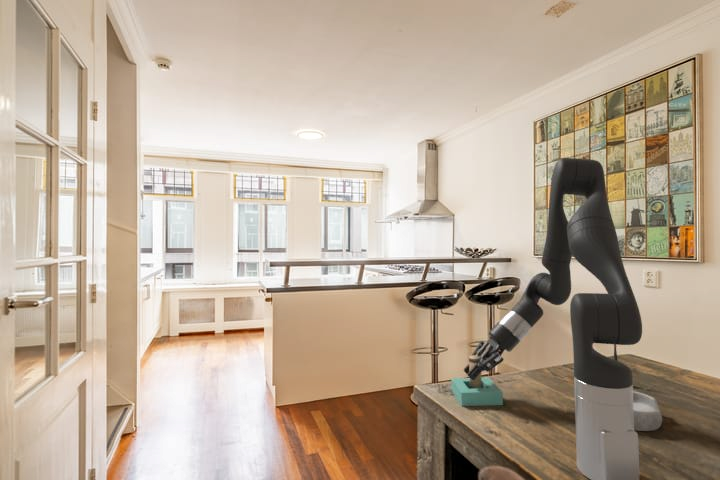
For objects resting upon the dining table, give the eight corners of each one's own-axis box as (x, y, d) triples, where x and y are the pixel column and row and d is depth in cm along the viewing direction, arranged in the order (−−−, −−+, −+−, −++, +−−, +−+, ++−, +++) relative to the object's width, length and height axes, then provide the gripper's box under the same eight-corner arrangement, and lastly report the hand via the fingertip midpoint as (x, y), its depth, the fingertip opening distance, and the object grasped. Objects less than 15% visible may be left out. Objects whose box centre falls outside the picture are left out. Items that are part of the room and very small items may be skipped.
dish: (648, 410, 96) (648, 390, 96) (678, 437, 83) (677, 414, 83) (584, 405, 100) (584, 386, 100) (603, 430, 87) (602, 408, 87)
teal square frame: (502, 404, 101) (502, 391, 101) (461, 406, 101) (461, 392, 101) (488, 389, 112) (488, 377, 112) (451, 390, 112) (451, 378, 112)
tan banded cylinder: (483, 391, 105) (482, 358, 105) (471, 391, 105) (470, 358, 105) (479, 386, 108) (478, 355, 108) (468, 387, 108) (467, 355, 108)
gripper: (491, 316, 114) (452, 358, 113) (510, 326, 100) (465, 374, 99) (509, 333, 114) (470, 375, 113) (530, 346, 100) (486, 394, 99)
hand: (468, 375), depth 106 cm, fingers closed on tan banded cylinder, 3 cm apart
